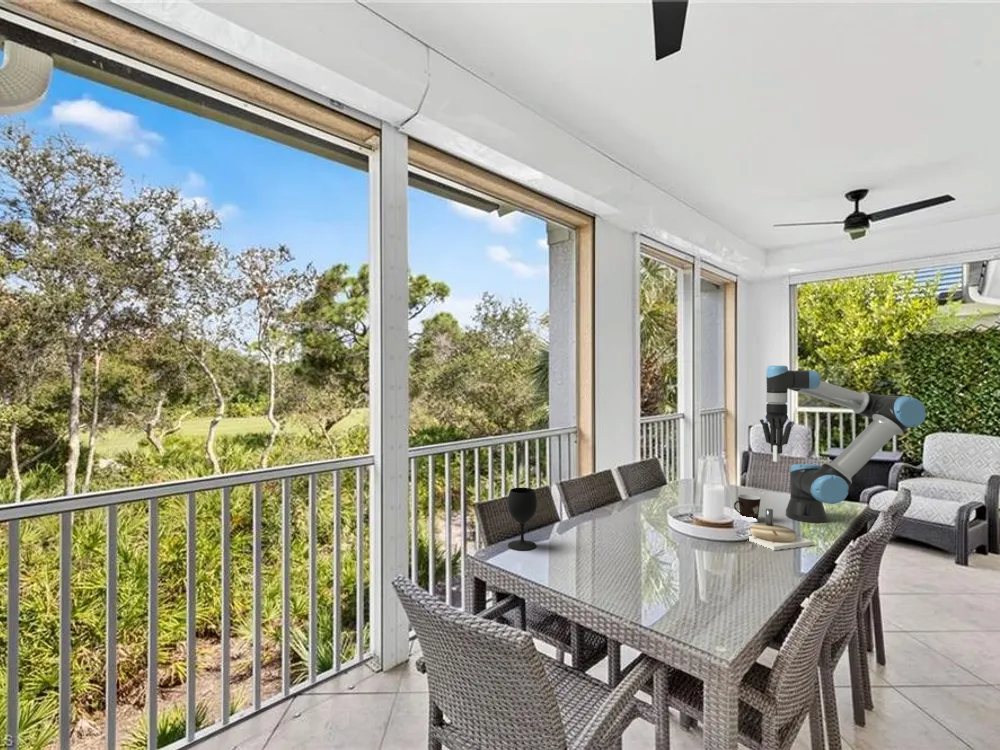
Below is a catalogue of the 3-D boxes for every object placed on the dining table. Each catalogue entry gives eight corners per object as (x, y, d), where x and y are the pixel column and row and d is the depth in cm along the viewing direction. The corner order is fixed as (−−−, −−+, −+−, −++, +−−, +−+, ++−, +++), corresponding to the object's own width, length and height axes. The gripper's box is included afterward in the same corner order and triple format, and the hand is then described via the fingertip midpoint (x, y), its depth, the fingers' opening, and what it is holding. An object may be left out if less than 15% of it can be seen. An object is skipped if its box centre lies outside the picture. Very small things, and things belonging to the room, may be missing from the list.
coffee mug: (755, 517, 215) (755, 494, 215) (764, 523, 206) (764, 499, 206) (727, 517, 216) (727, 494, 216) (734, 523, 207) (734, 499, 207)
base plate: (771, 530, 197) (771, 526, 197) (812, 545, 180) (812, 540, 180) (734, 535, 192) (734, 530, 192) (774, 550, 175) (774, 545, 175)
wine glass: (542, 545, 179) (542, 490, 179) (523, 553, 172) (524, 495, 172) (520, 539, 186) (520, 485, 186) (501, 546, 179) (501, 490, 179)
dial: (747, 527, 196) (747, 506, 196) (790, 531, 191) (790, 510, 191) (753, 539, 181) (753, 517, 181) (800, 543, 177) (800, 521, 177)
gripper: (798, 403, 200) (798, 462, 200) (765, 402, 211) (765, 458, 211) (788, 404, 196) (788, 464, 196) (756, 402, 207) (755, 459, 207)
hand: (776, 461), depth 203 cm, fingers closed
